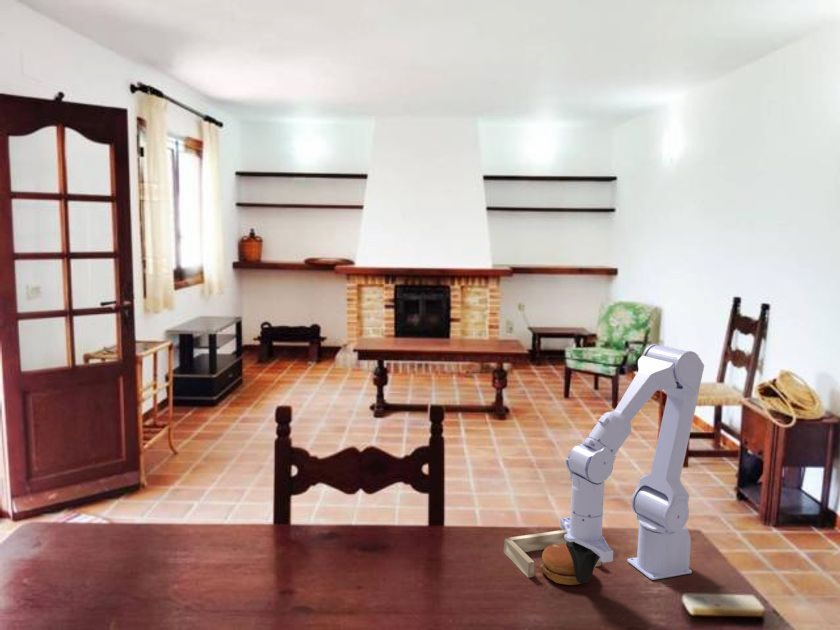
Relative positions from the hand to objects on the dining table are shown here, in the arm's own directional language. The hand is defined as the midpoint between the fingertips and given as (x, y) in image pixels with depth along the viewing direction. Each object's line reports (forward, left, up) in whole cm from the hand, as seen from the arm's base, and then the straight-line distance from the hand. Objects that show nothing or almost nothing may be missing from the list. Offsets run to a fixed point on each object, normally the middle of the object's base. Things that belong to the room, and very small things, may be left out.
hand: (583, 581), depth 124 cm
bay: (0, -11, -1) cm, 11 cm away
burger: (+1, -6, -2) cm, 6 cm away
